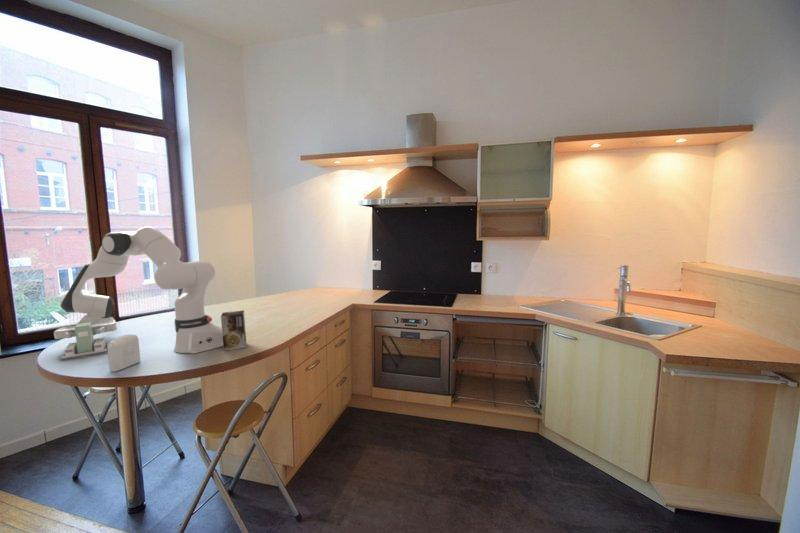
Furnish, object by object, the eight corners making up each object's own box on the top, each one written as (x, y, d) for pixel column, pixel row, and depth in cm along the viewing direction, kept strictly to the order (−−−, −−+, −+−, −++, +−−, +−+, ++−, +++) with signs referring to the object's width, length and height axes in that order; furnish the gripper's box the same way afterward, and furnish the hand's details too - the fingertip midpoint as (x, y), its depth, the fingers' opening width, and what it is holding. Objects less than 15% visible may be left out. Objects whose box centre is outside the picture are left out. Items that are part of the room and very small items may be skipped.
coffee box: (246, 343, 151) (244, 310, 150) (245, 348, 146) (243, 313, 144) (225, 346, 148) (222, 312, 146) (223, 351, 142) (220, 315, 140)
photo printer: (133, 360, 132) (130, 331, 131) (142, 361, 132) (139, 332, 130) (107, 371, 122) (103, 340, 121) (116, 372, 121) (113, 340, 120)
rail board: (109, 345, 150) (108, 336, 149) (106, 352, 141) (105, 343, 140) (67, 352, 141) (65, 343, 141) (61, 360, 133) (59, 350, 132)
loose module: (94, 347, 145) (91, 322, 143) (92, 352, 140) (89, 325, 138) (80, 350, 142) (77, 323, 141) (78, 354, 137) (74, 327, 136)
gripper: (56, 323, 144) (48, 331, 133) (117, 316, 156) (114, 322, 145) (58, 337, 145) (50, 346, 134) (118, 328, 157) (115, 336, 146)
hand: (84, 334), depth 139 cm, fingers open, 8 cm apart
